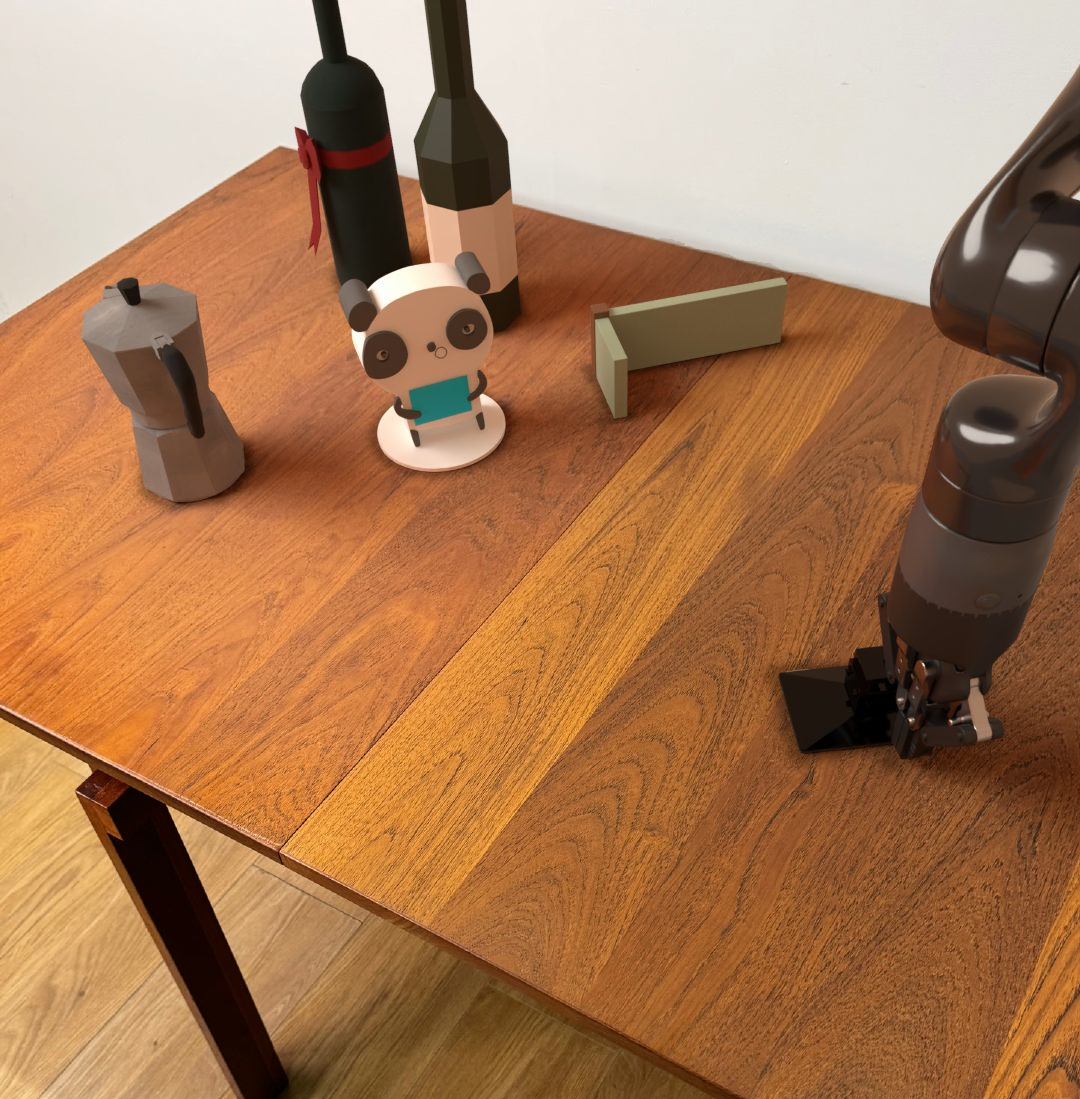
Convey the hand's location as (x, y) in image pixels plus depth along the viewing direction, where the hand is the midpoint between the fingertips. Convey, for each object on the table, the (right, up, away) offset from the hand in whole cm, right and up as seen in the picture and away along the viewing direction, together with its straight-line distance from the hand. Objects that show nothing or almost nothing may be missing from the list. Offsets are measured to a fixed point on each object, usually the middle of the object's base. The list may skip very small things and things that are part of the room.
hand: (909, 748), depth 77 cm
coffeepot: (-54, +23, +23) cm, 63 cm away
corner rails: (-10, +32, +27) cm, 44 cm away
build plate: (-1, +3, +4) cm, 5 cm away
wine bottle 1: (-43, +47, +42) cm, 76 cm away
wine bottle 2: (-31, +42, +36) cm, 63 cm away
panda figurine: (-34, +27, +25) cm, 50 cm away
